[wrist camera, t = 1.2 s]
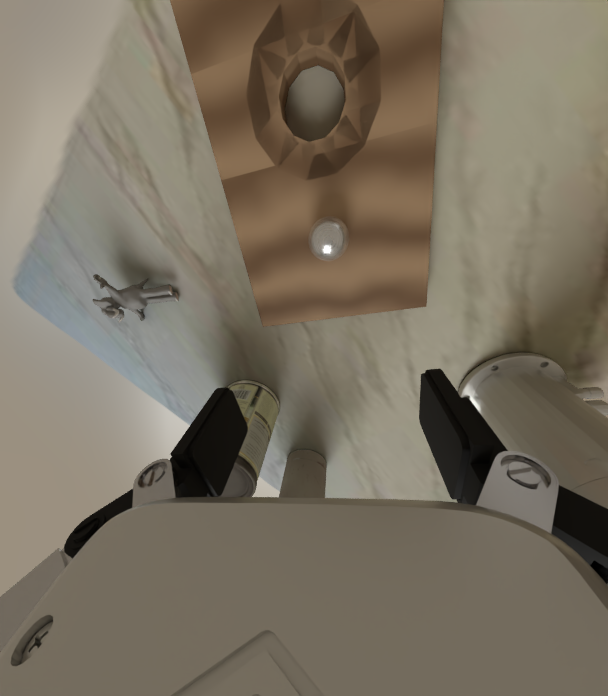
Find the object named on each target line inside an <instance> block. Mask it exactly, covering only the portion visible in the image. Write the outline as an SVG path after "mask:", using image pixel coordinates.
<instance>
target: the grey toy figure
mask: <svg viewBox="0 0 608 696" xmlns="http://www.w3.org/2000/svg"><path fill="white" fill-rule="evenodd" d="M93 278H94V280H96V281H97V283H99V284H100V288H101V289H102V288H103V287H106V289H107V291H108V292H109V293H110V295H111V297H106V298H102V299H101V300H95V299H93V302H94V304H95V305H97V306H99V307H100V308H101V309H102V313H104V314H105V315H107V316H108V317H109V318H119V317H120V320H119V323H120V322H121V321H122V320H123V318H124V311H123V310H122V309H118V308H119V307H120V306H121V307H122V308H124V309H125V308H127V309H129V310H131V311H132V312H134V313H136V314H137V315H138V316H139V317H140V320H141V321H143V320H144V315H143V313H142V312H140V311H139V310H138V309H142V308H145V307H146V306H147V304H148V303H160V302H167V301H179V298H178V294H177V292H173V291H172V288H171V285H165V286H161V287H158V288H149V289H143V286H144V284H145V283H146V281H147V280H148V278H147V279H146V280H144V281H142V282H141V283H140V284H138V285H137V286H136V285H132V286H130V287H128V288H125V289H122V290H116V289H115V288H113V287H112V286H110V285H109V284H108V283H107V281H105V280H104V279H103V278H101V277H100V276H99V275H97V274H96V275H94V276H93Z"/></svg>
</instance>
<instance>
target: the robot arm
mask: <svg viewBox="0 0 608 696" xmlns="http://www.w3.org/2000/svg"><path fill="white" fill-rule="evenodd" d="M603 396H604V392H603V390H602V389H601V388H599V387H588V388H579V389H578V388H577V387H575V386H573V385H572V384H570V383H569V382H567V376H566V374H565V372H564V370H563V369H562V368H561V367H560V366H559V365H558V364H557V363H555V362H554V361H552V360H551V359H549V358H547V357H545V356H543V355H539V354H535V353H523V352H522V353H511V354H506V355H502V356H499V357H496V358H493V359H491V360H489V361H487V362H485V363H483V364H481V365H480V366H478V367H477V368H475V369H474V370H473V371H472V372H471V373H469V374H468V375H467V376H466V378H465V379H464V380H463V382H462V384H461V386H460V388H459V391H458V392H457V391H456V390H455V388H454V387H453V385H452V384H451V382H450V381H449V380H448V378H447V377H446V375H445V374H444V373H443V371H442V370H441V369H431V370H426V372H425V373H423V374H421V390H420V411H419V420H420V424H421V427H422V429H423V432H424V434H425V436H426V439H427V441H428V444H429V446H430V449H431V451H432V453H433V456H434V458H435V461H436V463H437V466H438V468H439V470H440V473H441V475H442V478H443V480H444V482H445V485H446V487H447V490H448V492H449V494H450V497H451V498H452V499H457V502H458V503H455V502H443V501H425V500H397V499H348V498H280V497H278V498H277V497H219V496H221V495H222V493H223V491H224V488H225V486H226V483H227V481H228V479H229V476H230V474H231V471H232V469H233V466H234V464H235V462H236V459H237V457H238V454H239V452H240V450H241V447H242V445H243V442H244V440H245V437H246V435H247V432H248V426H247V423H246V421H245V419H244V416H243V414H242V412H241V409H240V407H239V405H238V402H237V400H236V398H235V395H234V393H233V391H232V390H230V389H229V388H217V389H216V390H215V391H214V393H213V394H212V395H211V397H210V398H209V400H208V401H207V403H206V404H205V405H204V407H203V408H202V410H201V411H200V413H199V414H198V415H197V417H196V418H195V420H194V421H193V422H192V424H191V425H190V427H189V428H188V430H187V431H186V432H185V434H184V435H183V437H182V438H181V440H180V441H179V442H178V444H177V445H176V447H175V448H174V450H173V451H172V452H171V456H172V457H171V459H170V460H168V459H160V460H157V461H155V462H152V463H151V464H149V465H148V466H146V467H145V468H144V469H143V470H142V471H141V472H140V473H139V475H138V476H137V478H136V479H135V482H134V487H133V489H132V490H130V491H128V492H127V493H125V494H124V495H122V496H121V497H119V498H118V499H116V500H114V501H113V502H111V503H109V504H108V505H106V506H105V507H103V508H102V509H100V510H98V511H97V512H95V513H94V514H92V515H90V516H89V517H88V518H86V519H85V520H84V521H82V522H81V523H80V524H79V525H78V526H77V527H76V528H75V529H74V531H73V532H72V533H71V534H70V536H69V537H68V539H67V541H66V544H65V546H64V549H62V550H60V549H59V548H58V549H57V550H56V551H55V552H54V553H52V554H51V555H50V556H48V557H47V558H46V559H45V560H44V561H43V562H41V563H40V564H39V565H38V566H37V567H35V568H34V569H33V570H32V571H31V572H30V573H28V574H27V575H26V576H25V577H23V578H22V579H21V580H20V581H19V582H18V583H17V584H15V585H14V586H13V587H12V588H10V589H9V590H8V591H7V592H6V593H4V594H3V595H2V596H1V597H0V696H608V418H607V417H606V415H608V404H607V403H606V402H604V401H602V400H591V401H584V400H583V398H586V399H594V398H602V397H603Z"/></svg>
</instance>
